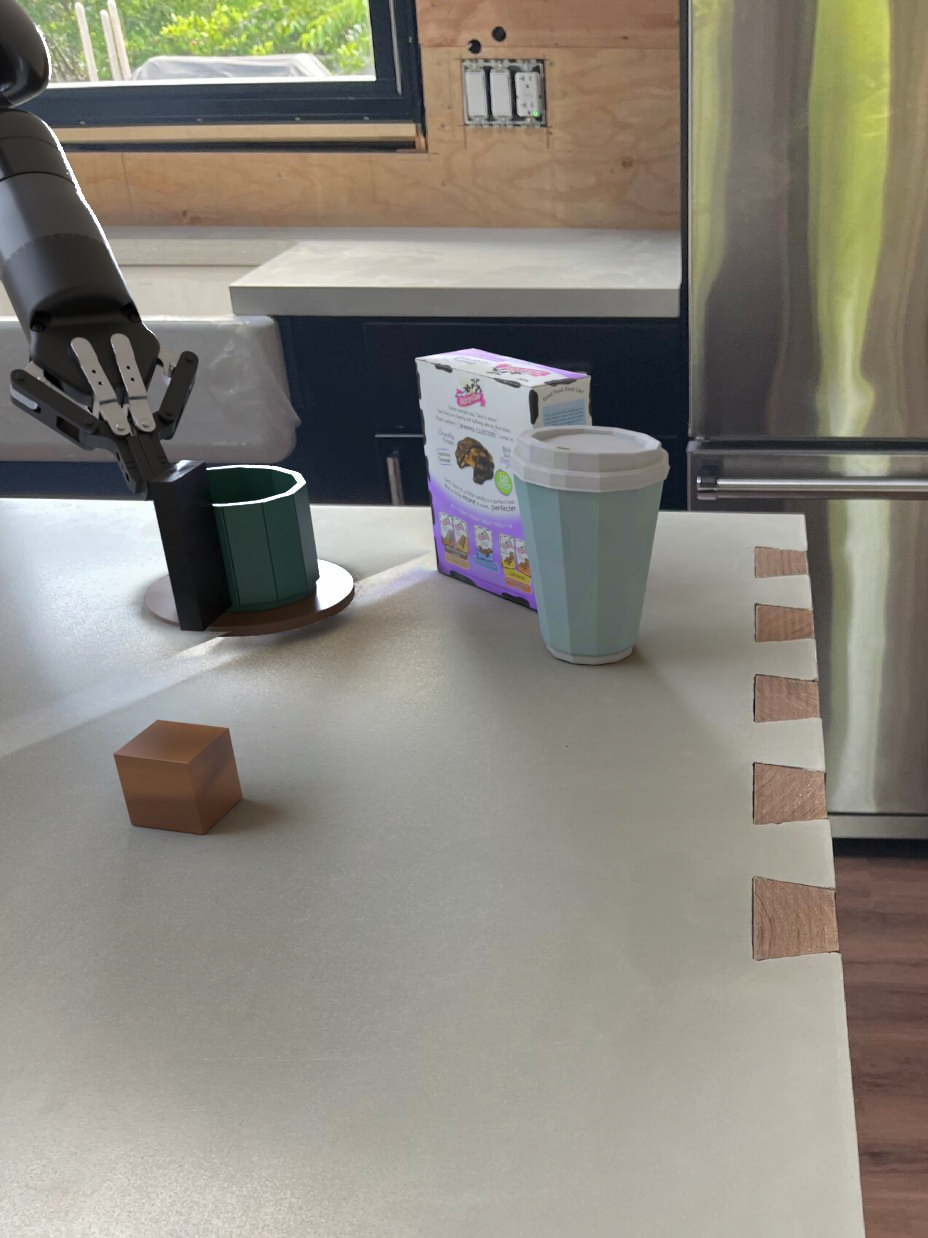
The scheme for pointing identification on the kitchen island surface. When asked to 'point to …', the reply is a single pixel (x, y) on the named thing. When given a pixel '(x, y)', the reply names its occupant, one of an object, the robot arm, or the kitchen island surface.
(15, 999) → the kitchen island surface
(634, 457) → the disposable coffee cup
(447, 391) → the candy box
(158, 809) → the block
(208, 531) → the cup with saucer
